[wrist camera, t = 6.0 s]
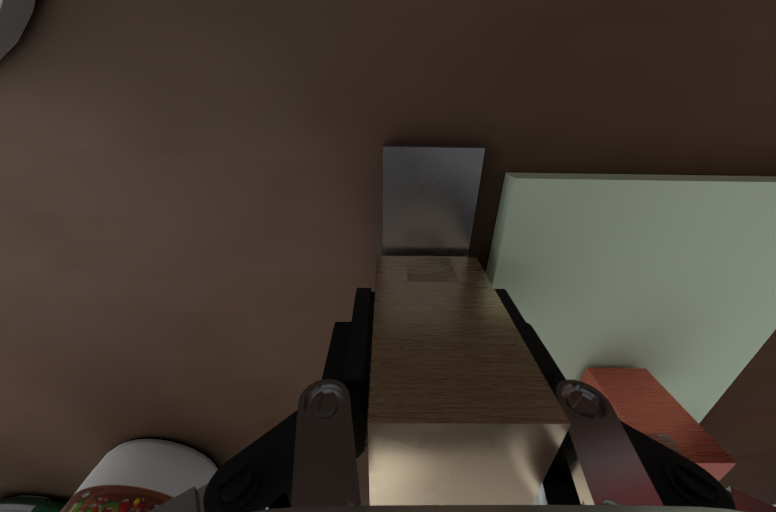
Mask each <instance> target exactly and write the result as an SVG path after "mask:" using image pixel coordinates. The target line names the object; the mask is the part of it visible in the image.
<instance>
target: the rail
mask: <svg viewBox="0 0 776 512" xmlns="http://www.w3.org/2000/svg"><path fill="white" fill-rule="evenodd" d="M484 153H485V148H484V147H482V146H480V145H447V144H383V207H382V256H453V257H468V253H469V247H470V241H471V234H472V228H473V222H474V216H475V209H476V203H477V197H478V191H479V184H480V178H481V172H482V165H483V159H484Z"/></svg>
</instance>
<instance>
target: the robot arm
mask: <svg viewBox="0 0 776 512" xmlns="http://www.w3.org/2000/svg"><path fill="white" fill-rule="evenodd" d="M34 5H35V0H0V60H1V59H2V58H3V57H4V56H5V55H6V54H7V53H8V52H9V51H10V50H11V49H12V48H13V47H14V46H15V45H16V44H17V43H18V41H19V39H20V37H21V35H22V33H23V31H24V29H25V27H26V25H27V23H28V21H29V19H30V17H31V15H32V13H33V10H34ZM495 291H496V293H497V295H498V296H499V298H500V300H501V302H502V303H503V305H504V307H505V309H506V310H507V312H508V314H509V316H510V318H511V319H512V321H513V323H514V325H515V326H516V328H517V330H518V332H519V333H520V335H521V337H522V339H523V340H524V342H525V344H526V346H527V347H528V349H529V351H530V353H531V355H532V356H533V358H534V360H535V362H536V363H537V365H538V367H539V369H540V370H541V372H542V374H543V376H544V377H545V379H546V381H547V383H548V384H549V386H550V388H551V390H552V391H553V393H554V395H555V397H556V399H557V400H558V402H559V404H560V406H561V407H562V409H563V411H564V413H565V414H566V416H567V418H568V420H569V421H570V423H571V425H570V427H569V429H568V431H567V433H566V435H565V437H564V439H563V441H562V443H561V445H560V447H559V449H558V451H557V454H556V456H555V458H554V460H553V462H552V464H551V466H550V468H549V470H548V472H547V474H546V476H545V478H544V480H543V482H542V484H541V486H540V488H539V490H538V492H537V493H538V497H539V502H540V505H371V506H361V500H360V490H359V480H358V471H357V461H356V459H357V458H358V457H359V456H360V455H361V454H362V453H363V452H364V451H365V447H367V436H368V408H369V390H370V372H371V355H372V337H373V320H374V302H375V292H371V288H357V290H356V296H355V303H354V309H353V316H352V322H335V325H334V329H333V333H332V338H331V342H330V346H329V351H328V355H327V360H326V364H325V368H324V373H323V377H322V380H319V381H316V382H314V383H312V384H311V385H309V386H308V387H307V388H306V389H305V390H304V391H303V392H302V394H301V396H300V398H299V402H298V410H297V411H296V412H294V413H293V414H292V415H290V416H289V417H287V418H286V419H285V420H283V421H282V422H281V423H279V424H278V425H276V426H275V427H274V428H272V429H271V430H270V431H268V432H267V433H266V434H264V435H263V436H261V437H260V438H259V439H257V440H256V441H255V442H253V443H252V444H250V445H249V446H248V447H246V448H245V449H244V450H242V451H241V452H239V453H238V454H237V455H235V456H234V457H233V458H231V459H230V460H229V461H227V462H226V463H225V464H224V465H222V466H221V467H220V468H219V469H218V470H217V471H216V473H215V474H214V475H213V477H212V478H211V479H210V481H209V483H207V484H206V485H204V486H202V487H200V488H198V489H197V490H196V488H195V486H194V487H192V488H190V489H188V490H187V491H185V492H183V493H181V494H179V495H178V496H176V497H174V498H172V499H170V500H169V501H167V502H165V503H163V504H161V505H159V506H158V507H156V508H154V509H152V510H150V511H149V512H776V507H774V506H772V505H770V504H768V503H766V502H764V501H761V500H759V499H757V498H755V497H753V496H751V495H748V494H746V493H744V492H742V491H740V490H737V489H735V488H733V487H731V486H729V487H728V488H727V489H725V488H724V487H723V486H722V485H721V484H720V483H719V481H718V480H717V479H716V478H714V477H713V476H712V475H711V474H710V473H709V472H707V471H706V470H705V469H703V468H702V467H700V466H699V465H697V464H696V463H694V462H693V461H691V460H689V459H687V458H686V457H684V456H682V455H680V454H678V453H677V452H675V451H673V450H671V449H670V448H668V447H666V446H664V445H663V444H661V443H659V442H657V441H656V440H654V439H652V438H650V437H649V436H647V435H645V434H643V433H642V432H640V431H638V430H636V429H634V428H633V427H631V426H629V425H627V424H626V423H624V422H622V421H620V420H619V418H618V416H617V414H616V412H615V411H614V409H613V407H612V405H611V403H610V402H609V400H608V399H607V398H606V397H605V396H604V395H603V394H602V393H601V392H600V391H599V390H597V389H596V388H594V387H593V386H591V385H589V384H586V383H584V382H581V381H577V380H566V378H565V377H564V375H563V374H562V372H561V371H560V369H559V368H558V366H557V364H556V363H555V361H554V360H553V358H552V357H551V355H550V353H549V352H548V350H547V349H546V347H545V346H544V344H543V342H542V341H541V339H540V338H539V336H538V335H537V333H536V332H535V330H534V328H533V327H532V326H531V325H530V324H529V323H526V321H525V320H524V318H523V317H522V315H521V313H520V312H519V310H518V309H517V307H516V305H515V304H514V302H513V301H512V299H511V297H510V296H509V294H508V293H507V291H506V290H505V289H495Z"/></svg>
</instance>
